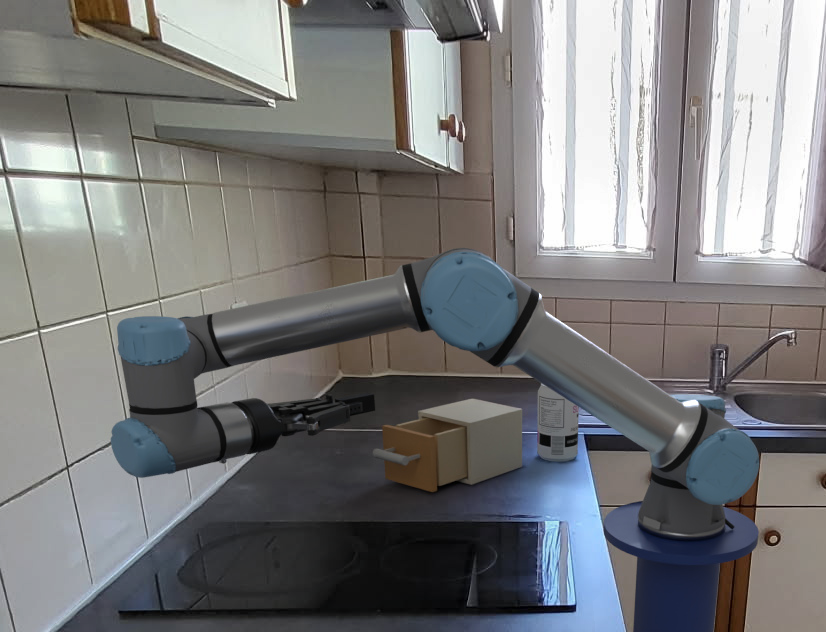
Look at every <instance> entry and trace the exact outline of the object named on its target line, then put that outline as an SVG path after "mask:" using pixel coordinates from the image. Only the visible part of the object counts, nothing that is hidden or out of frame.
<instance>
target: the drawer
mask: <svg viewBox="0 0 826 632" xmlns="http://www.w3.org/2000/svg"><path fill="white" fill-rule="evenodd" d="M381 431H382V447H383V449H380V448H374V449H373V451H372V456H373V458H375V459H379V460H383V463H384V477H385V480H389V481H391V482H395V483H399V484H401V485H402V484H403V485H406V486H408V487H412V488H415V489H418V490H423V491H427V492H430V493H435V492H437V491H438V487H441V486H444V485H447V484H451V483H453V482H455V481H456V480H459V479H462V478H465V477H468V452H467V426H463V425H458V424H454V423H450V422H445V421H441V420H437V419H432V418H428V417H426V418H422V419H419V418H418V419H414V420H411V421H406V422H402V423H398V424H395V425H390V424H384V425H381ZM456 482H457V481H456Z"/></svg>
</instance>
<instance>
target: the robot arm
mask: <svg viewBox="0 0 826 632" xmlns="http://www.w3.org/2000/svg"><path fill="white" fill-rule="evenodd" d="M404 329H412V330H414V331H416V332H418V333H419V334H420V333H424V332H429V331H433V332H434V333H435V334H436V335H437V337H438V338H440V340H442V341H443V342H445V343H446V344H448V345H449V346H451V347H455V348H457V349H459V350H462V351H466V352H470V353H471V354H473V355H474V356H476V357H478V358H479V359H481V360H483V361H485V362H486V363H488V364H489V365H490V366H493V367H494V368H496V369H497V368H501V367H506V366H513V367H514V368H516V369H518V370H520V371H521V372H522V373H524V374H526V375H527V376H529V377H531V378H532V379H534V380H535V381H537V382H539V383H540V384H541V383H542V384H543V385H545V386H547V387H548V388H550V389H551V390H553V391H555V392H556V393H558V394H559V395H561V396H562V397H564V398H566V399H567V400H569V401H570V402H572V403H573V404H575V405H577V406H578V407H579V409H582V410H583V411H585V412H586V413H588V414H589V415H591V416H592V417H594V418H596V419H597V420H599V421H601V422H602V423H604V424H605V425H607V426H608V427H610V428H611V429H612V430H614V431H616V432H617V433H619V434H621V435H622V436H624V437H626V438H627V439H628V440H630V441H632V442H633V443H635V444H637V446H640V447H641V448H643V449H644V450H647V451H648V453H649V459H650V463H651V466H650V467H651V468H650V470H651V471H650V482H649V484H648V487H647V490H646V492H645V494H644V497H643V499H642V501H643V502H642V504H641V507H640V509H639V513H638V526H639V527H640V528H641V529H642V530H643V531H645V532H646V533H648V534H650V535H653V536H655V537H659V538H663V539H667V540H674V541H703V540H709V539H712V538H715V537H718V536H719V535H721V534H722V533H723V532H724V530H725V524H726V525H727V526H728V527H730V528H731V529H733V528H734V527H735V526H734V525H732V524H731V523H730V522H729V521H728V520H727V519H726V518H725V513H724V509H723V507H724V505H726V504H729V503H732V502H735V501H737V500H738V499H740V498H741V497H743V496H744V495H745V494H746V493H747V492H748V491H749V490H750V489H751V487H752V486H753V485H754V483H755V482H756V478H757V476H758V473H759V469H760V455H759V452H758V449H757V447H756V445H755V443H754V442H753V440H752V438H751V436H749V435H748V434H747V433H746V432H744V431H742V430H740V429H739V428H738V427H736V426H735V425H733V424H732V423H731V422H730V421H728V420H727V419H726V418H725V417H726V413H727V409H726V401H725V399H724V398H722V397H720V396H716V395H715V396H714V395H707V394H690V393H689V394H687V393H686V394H683V393H682V394H681V393H680V394H669V393H667V392H666V391H664V390H663V389H662V388H660V387H659V386H657V385H656V384H654V383H653V382H651V381H649V380H648V379H646V377H643V376H642V375H641V374H639V373H638V372H636V371H635V370H633V368H630V367H629V366H627V365H626V364H625V363H624V362H621V361H620V360H618V359H617V358H616V357H614V356H613V355H611V354H609V353H608V352H607V351H606V350H604V349H603V348H601V347H600V346H598V345H597V344H595V343H594V342H592V341H590V340H589V339H588V338H586V337H585V336H584V335H582V334H580V333H579V332H577V331H575V330H574V329H573V328H571V327H570V326H569V325H566V323H564V322H562V321H561V320H560V319H558V318H556V317H555V316H553V315H552V314H551V313H549V312H548V311H546V309H545V305H544V301H543V297H542V294H541V293H540V292H539V291H536V290H535V289H534V288H532V287H531V286H529V285H528V284H527V283H525V282H524V281H523V280H521V279H519V278H518V277H516V276H515V275H513V274H512V273H510V272H509V271H508V270H506V269H505V268H503V267H502V266H501V265H499V263H497V262H496V261H495V260H493V258H492V257H490V256H489V255H487V254H486V253H484V252H482V251H480V250H477V249H474V248H469V247H457V248H451V249H449V250H446V251H443V252H441V253H439V254H435V255H433V256H430V257H428V258H424V259H422V260H418V261H415V262H410V263H405V264H401V265H399V266H398V268H397V270H396V271H395V273H394V274H391V275H385V276H380V277H376V278H372V279H367V280H361V281H357V282H352V283H347V284H343V285H339V286H338V285H337V286H333V287H328V288H324V289H319V290H315V291H310V292H305V293H300V294H296V295H290V296H286V297H282V298H277V299H272V300H267V301H262V302H257V303H253V304H249V305H244V306H239V307H234V308H230V309H224V310H220V311H214V312H212V313H207V314H201V315H196V316H188V315H187V316H181V317H172V316H162V315H161V316H159V315H157V316H156V315H148V316H147V315H145V316H143V315H142V316H134V317H126V318H124V319H121V320H120V321H119V322H118V323H117V326H116V332H117V343H118V345H117V352H118V355H119V357H120V362H121V367H122V372H123V378H124V383H125V389H126V394H127V399H128V406H129V409H128V411H129V417H127V418H124V420H120V421H118V422H116V423H115V424H114V425H113V426H112V428H111V432H110V433H111V435H112V436H110V446H111V450H112V452H113V455H114V457H115V460H116V461H117V463H118V465H119V466H120V467H121V468H122V470H124V471H125V472H126V473H127V474H128V475H130V476H132V477H135V478H139V479H143V478H149V477H150V478H151V477H156V476H160V475H173V474H175V473H178V472H181V471H185V470H189V469H192V468H197V467H201V466H205V465H208V464H212V463H219V464H223V465H224V464H226V463H227V462H228V460H229V459H234V458H238V457H242V456H245V455H254V454H257V453H258V454H259V453H262V452H267V451H270V450H272V449H273V448H274V447H275V446H276V445H277V443H278V441H279V438H280V437H290V436H294V435H295V434H296V433H300V432H305V431H306V433H307V436H311V437H312V436H317V435H318V434H319V433H320V432H323V431H326V430H328V429H331V428H334V427H338V426H340V425H343V424H345V425H346V424H347V423H349V422H350V421H351V416H352V417H353V416H359V415H363V414H367V413H372V412H375V411H376V402H375V394H374V393H370V392H365V393H359V394H354V395H349V396H344V397H339V398H335V399H334V395H333V394H325V399H322V398H321V397H314V398H307V399H298V400H289V401H283V402H282V401H281V402H273V403H271V402H270V403H266V402H265V400H262V399H260V398H257V397H252V398H247V399H246V398H245V399H240V400H234V401H232V402H229V401H227V402H221V403H216V404H209V405H205V406H204V405H203V406H199V407H198V399H197V393H196V385H195V379H196V378H198V377H199V376H201V375H202V374H206V373H210V372H214V371H219V370H223V369H227V368H230V367H234V366H240V365H244V364H248V363H253V362H257V361H262V360H266V359H267V360H268V359H271V358H276V357H280V356H284V355H290V354H294V353H300V352H304V351H308V350H312V349H318V348H321V347H327V346H331V345H335V344H336V345H337V344H341V343H345V342H349V341H354V340H359V339H364V338H368V337H372V336H378V335H383V334H387V333H391V332H396V331H401V330H404Z"/></svg>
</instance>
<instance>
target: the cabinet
mask: <svg viewBox="0 0 826 632" xmlns="http://www.w3.org/2000/svg"><path fill="white" fill-rule="evenodd" d="M417 415H418V419H422V418H426V417H428V418H432V419H437V420H441V421H445V422H450V423H454V424H458V425H463V426H467V452H468V477H465V478H462V479H459V480H456V482H460V483H463V484H466V485H471V486H473V485H475V484H477V483H480V482H483V481H487V480H490V479H492V478H494V477H498V476H501V475H503V474H506V473H509V472H511V471H514V470H517V469H519V468H522V467H523V408H519V407H515V406H510V405H505V404H500V403H495V402H490V401H487V400H481V399H477V398H468V399H465V400H461V401H460V400H459V401H455V402H451V403H447V404H441V405H438V406H433V407H430V408H426V409H422V410H421V409H420V410H418V411H417Z"/></svg>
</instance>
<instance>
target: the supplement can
mask: <svg viewBox="0 0 826 632" xmlns="http://www.w3.org/2000/svg"><path fill="white" fill-rule="evenodd" d="M579 412H580V407H578V406H577V405H575V404H573V403H572V402H570V401H569V400H567V399H566V398H564V397H562V396H561V395H559V394H558V393H556V392H555V391H553V390H551V389H550V388H548V387H547V386H545V385H543V384H542V383H540V386H539V388H538V390H537V419H536V420H537V422H536V423H537V426H536V427H537V430H536V432H537V433H536V435H537V437H536V440H537V442H536V454H537V455H538V456H539V457H540V458H541V459H542V460H545V461H548V462H556V463H557V462H558V463H559V462H569V461H572V460H573V459H575V457H577V456H578V454H579V453H578V452H579V417H580V416H579V415H580V413H579Z"/></svg>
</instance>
